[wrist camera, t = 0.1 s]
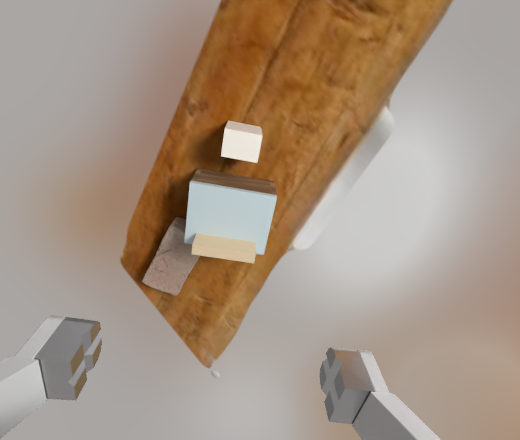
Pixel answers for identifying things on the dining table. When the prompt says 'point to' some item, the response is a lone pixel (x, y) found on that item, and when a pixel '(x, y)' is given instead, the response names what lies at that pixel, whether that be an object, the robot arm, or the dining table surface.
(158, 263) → the brick
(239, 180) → the dark wood box
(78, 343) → the robot arm
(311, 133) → the dining table surface
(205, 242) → the lid
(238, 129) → the block
